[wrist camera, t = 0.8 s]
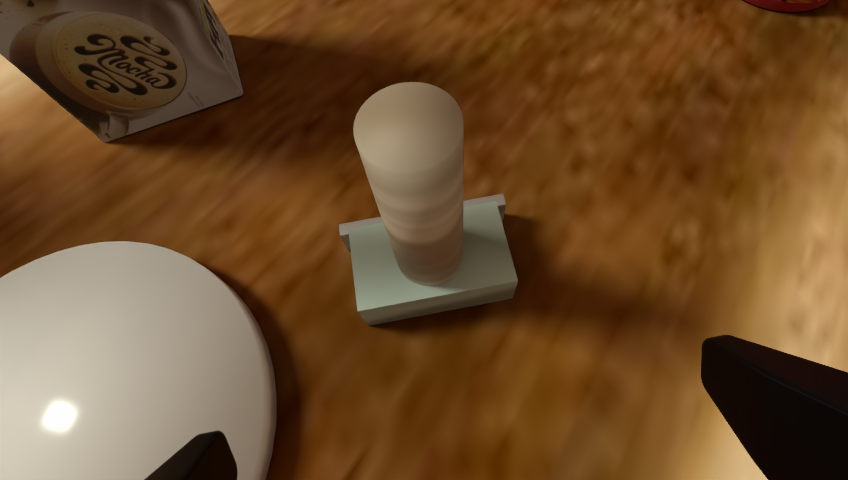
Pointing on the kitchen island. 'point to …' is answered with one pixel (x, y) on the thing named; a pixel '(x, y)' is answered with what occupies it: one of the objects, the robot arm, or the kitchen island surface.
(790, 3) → the canned food
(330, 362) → the kitchen island surface
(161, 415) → the white plate
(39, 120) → the kitchen island surface
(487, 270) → the rubber stamp
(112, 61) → the coffee box
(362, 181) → the kitchen island surface
